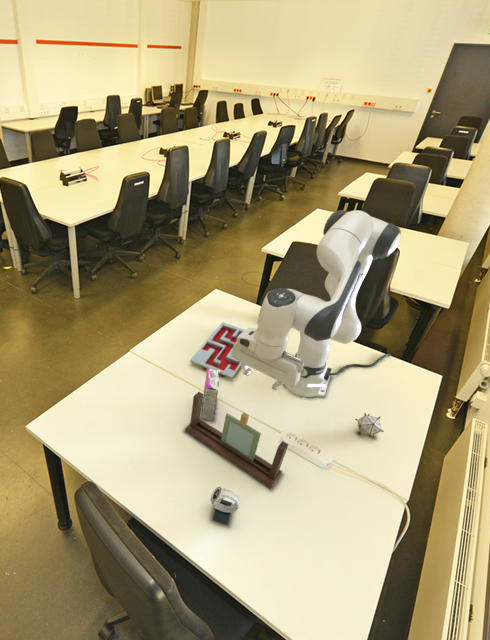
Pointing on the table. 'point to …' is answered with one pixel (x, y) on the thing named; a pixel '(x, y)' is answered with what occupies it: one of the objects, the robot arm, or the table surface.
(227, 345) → the maze game
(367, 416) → the game die
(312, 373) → the robot arm
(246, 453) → the window pane
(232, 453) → the window frame
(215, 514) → the watch
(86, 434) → the table surface
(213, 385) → the candy bar box
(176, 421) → the table surface
